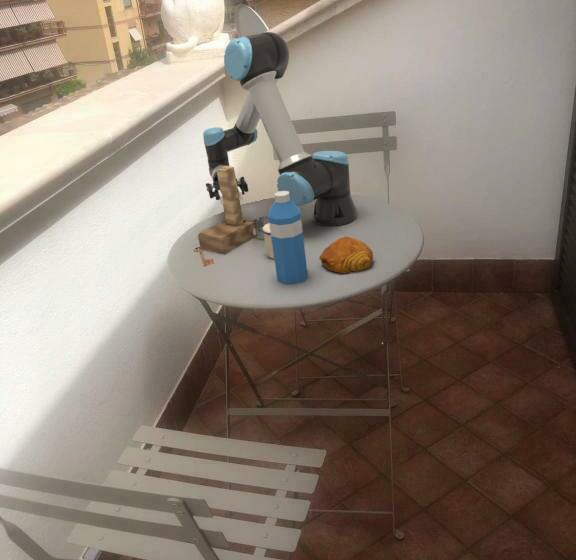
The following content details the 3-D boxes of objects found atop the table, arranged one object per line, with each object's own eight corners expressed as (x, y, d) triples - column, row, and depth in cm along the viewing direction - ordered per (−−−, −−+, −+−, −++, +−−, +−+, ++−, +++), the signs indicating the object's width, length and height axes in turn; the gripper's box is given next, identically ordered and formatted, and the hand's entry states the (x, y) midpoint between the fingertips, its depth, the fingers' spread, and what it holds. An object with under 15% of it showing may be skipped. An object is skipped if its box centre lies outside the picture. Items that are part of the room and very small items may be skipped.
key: (217, 265, 178) (211, 247, 191) (217, 262, 178) (210, 244, 191) (199, 268, 177) (193, 249, 190) (198, 265, 176) (193, 247, 189)
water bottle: (284, 287, 159) (272, 202, 147) (271, 275, 166) (259, 193, 155) (314, 278, 161) (305, 193, 150) (300, 266, 169) (290, 185, 158)
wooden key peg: (235, 223, 196) (224, 165, 187) (243, 224, 193) (233, 166, 184) (227, 227, 193) (216, 169, 184) (235, 229, 191) (225, 170, 182)
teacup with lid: (297, 257, 175) (292, 221, 170) (267, 261, 175) (262, 226, 169) (291, 241, 186) (287, 208, 180) (263, 246, 185) (258, 212, 180)
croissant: (355, 254, 177) (352, 229, 174) (382, 266, 163) (379, 239, 161) (313, 266, 172) (309, 241, 170) (336, 279, 159) (333, 252, 156)
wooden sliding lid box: (232, 230, 200) (230, 216, 198) (256, 235, 194) (254, 220, 191) (200, 248, 189) (197, 233, 187) (224, 254, 183) (221, 238, 181)
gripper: (250, 184, 207) (261, 203, 186) (199, 193, 204) (205, 214, 184) (247, 163, 203) (258, 181, 183) (195, 173, 201) (200, 192, 180)
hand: (231, 197), depth 183 cm, fingers closed on wooden key peg, 6 cm apart
